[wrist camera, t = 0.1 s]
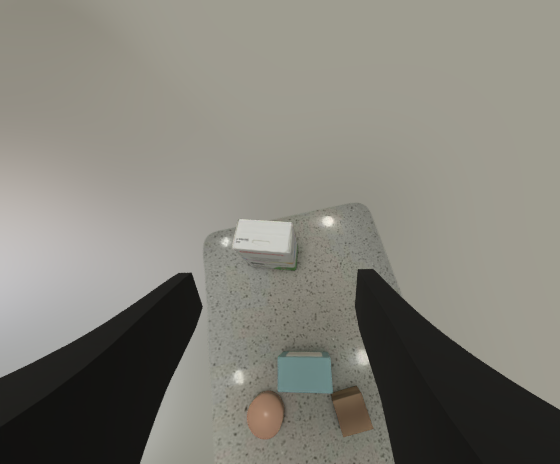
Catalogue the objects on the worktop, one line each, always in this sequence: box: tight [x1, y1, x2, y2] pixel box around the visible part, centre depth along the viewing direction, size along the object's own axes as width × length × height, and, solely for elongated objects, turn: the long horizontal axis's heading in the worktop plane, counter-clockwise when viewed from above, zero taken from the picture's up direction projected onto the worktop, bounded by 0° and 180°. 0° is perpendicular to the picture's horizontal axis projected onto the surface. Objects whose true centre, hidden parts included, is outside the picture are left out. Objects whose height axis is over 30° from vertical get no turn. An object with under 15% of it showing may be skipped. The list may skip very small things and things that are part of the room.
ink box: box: [232, 219, 298, 271], centre depth 39 cm, size 8×5×12 cm, turn 83°
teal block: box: [278, 351, 333, 394], centre depth 34 cm, size 4×7×7 cm, turn 91°
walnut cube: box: [331, 386, 373, 437], centre depth 33 cm, size 4×4×4 cm
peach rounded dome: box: [247, 391, 284, 439], centre depth 34 cm, size 5×5×3 cm
